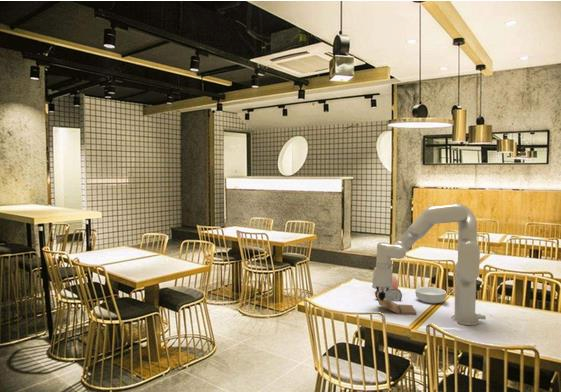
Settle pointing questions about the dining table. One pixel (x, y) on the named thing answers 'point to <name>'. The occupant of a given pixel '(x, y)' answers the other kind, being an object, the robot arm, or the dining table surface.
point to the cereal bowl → (430, 294)
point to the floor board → (407, 309)
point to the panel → (389, 305)
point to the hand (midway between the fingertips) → (381, 299)
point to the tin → (391, 294)
